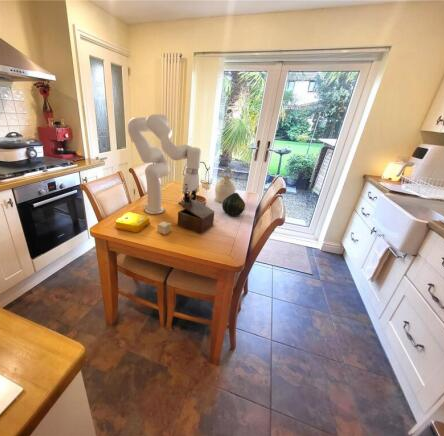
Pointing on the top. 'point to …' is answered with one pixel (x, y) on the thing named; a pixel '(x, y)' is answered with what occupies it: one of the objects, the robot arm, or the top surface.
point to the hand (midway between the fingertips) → (190, 200)
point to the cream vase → (224, 187)
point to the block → (163, 227)
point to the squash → (233, 204)
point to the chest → (194, 221)
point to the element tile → (132, 222)
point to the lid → (197, 208)
